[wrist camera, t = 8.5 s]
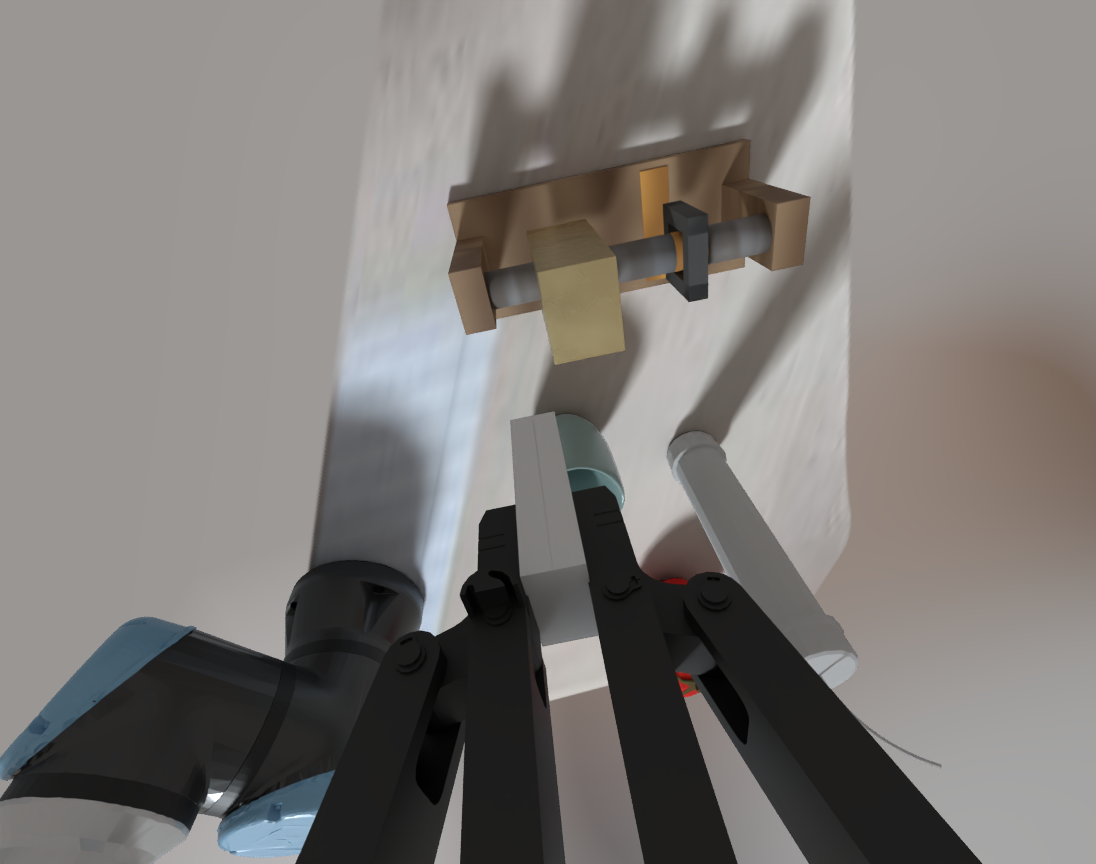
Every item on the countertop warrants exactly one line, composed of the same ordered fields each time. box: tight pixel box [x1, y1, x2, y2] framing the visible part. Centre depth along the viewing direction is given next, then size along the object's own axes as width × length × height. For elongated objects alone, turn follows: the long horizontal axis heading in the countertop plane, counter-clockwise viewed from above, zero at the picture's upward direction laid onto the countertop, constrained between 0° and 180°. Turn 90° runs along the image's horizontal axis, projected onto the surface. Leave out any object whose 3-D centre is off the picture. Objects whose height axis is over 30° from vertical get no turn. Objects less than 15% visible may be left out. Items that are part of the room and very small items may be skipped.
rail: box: [447, 139, 810, 335], centre depth 34 cm, size 22×9×10 cm, turn 100°
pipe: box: [667, 431, 941, 768], centre depth 39 cm, size 6×6×30 cm
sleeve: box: [526, 219, 625, 365], centre depth 30 cm, size 4×5×10 cm
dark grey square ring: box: [663, 200, 708, 302], centre depth 32 cm, size 1×5×5 cm, turn 10°
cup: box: [555, 414, 625, 511], centre depth 44 cm, size 8×8×10 cm
